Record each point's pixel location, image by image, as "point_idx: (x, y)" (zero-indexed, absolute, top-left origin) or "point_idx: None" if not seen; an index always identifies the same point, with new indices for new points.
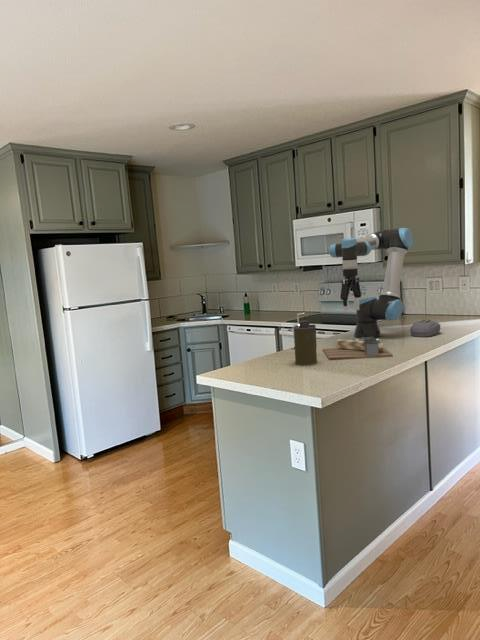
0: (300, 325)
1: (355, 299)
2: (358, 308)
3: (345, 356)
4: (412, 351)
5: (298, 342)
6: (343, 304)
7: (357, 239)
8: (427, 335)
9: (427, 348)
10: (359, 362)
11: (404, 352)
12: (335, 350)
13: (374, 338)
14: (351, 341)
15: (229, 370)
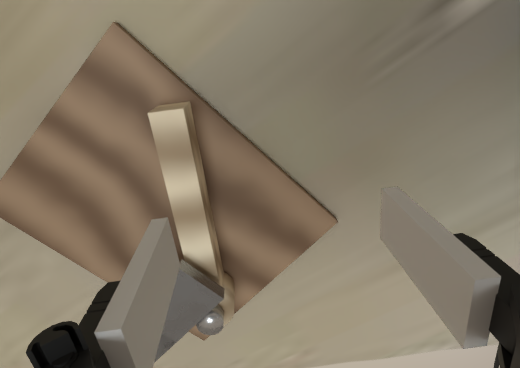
0: None
1: (452, 287)
2: (387, 245)
3: (60, 239)
4: (314, 337)
5: None
6: (93, 302)
7: None
8: None
9: (381, 346)
10: (56, 306)
11: (286, 327)
12: (124, 122)
13: (187, 328)
14: (171, 202)
15: None
